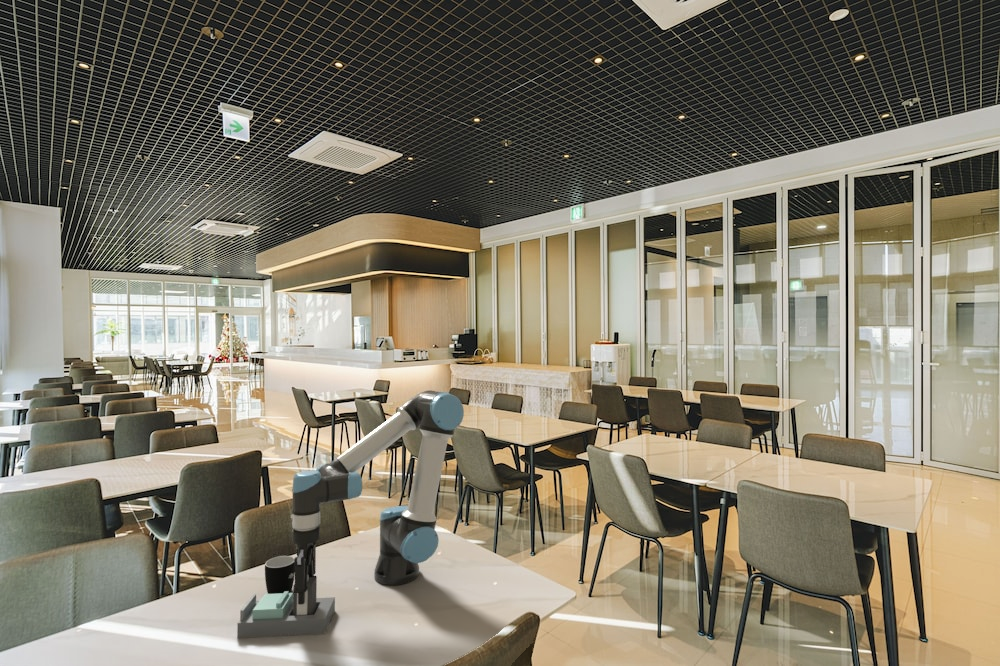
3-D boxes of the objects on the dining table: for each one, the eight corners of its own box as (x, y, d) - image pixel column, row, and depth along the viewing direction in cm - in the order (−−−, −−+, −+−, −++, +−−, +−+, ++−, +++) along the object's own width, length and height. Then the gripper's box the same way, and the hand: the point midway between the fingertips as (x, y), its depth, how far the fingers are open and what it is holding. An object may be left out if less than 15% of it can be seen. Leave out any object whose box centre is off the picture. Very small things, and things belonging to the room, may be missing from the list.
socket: (334, 610, 150) (335, 588, 150) (324, 633, 138) (325, 609, 138) (254, 614, 147) (254, 591, 148) (237, 638, 136) (237, 613, 136)
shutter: (292, 601, 147) (293, 589, 147) (282, 617, 138) (282, 605, 138) (264, 602, 146) (264, 590, 147) (252, 619, 137) (252, 606, 138)
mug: (290, 599, 156) (291, 566, 157) (260, 601, 155) (261, 568, 155) (300, 581, 168) (300, 551, 169) (272, 583, 167) (272, 552, 167)
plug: (316, 608, 146) (316, 571, 146) (311, 617, 141) (311, 579, 141) (298, 609, 145) (298, 572, 146) (293, 618, 140) (293, 580, 141)
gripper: (301, 516, 152) (300, 593, 152) (282, 539, 135) (280, 627, 134) (327, 515, 153) (326, 592, 153) (310, 538, 135) (309, 625, 135)
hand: (305, 608), depth 143 cm, fingers closed on plug, 5 cm apart
